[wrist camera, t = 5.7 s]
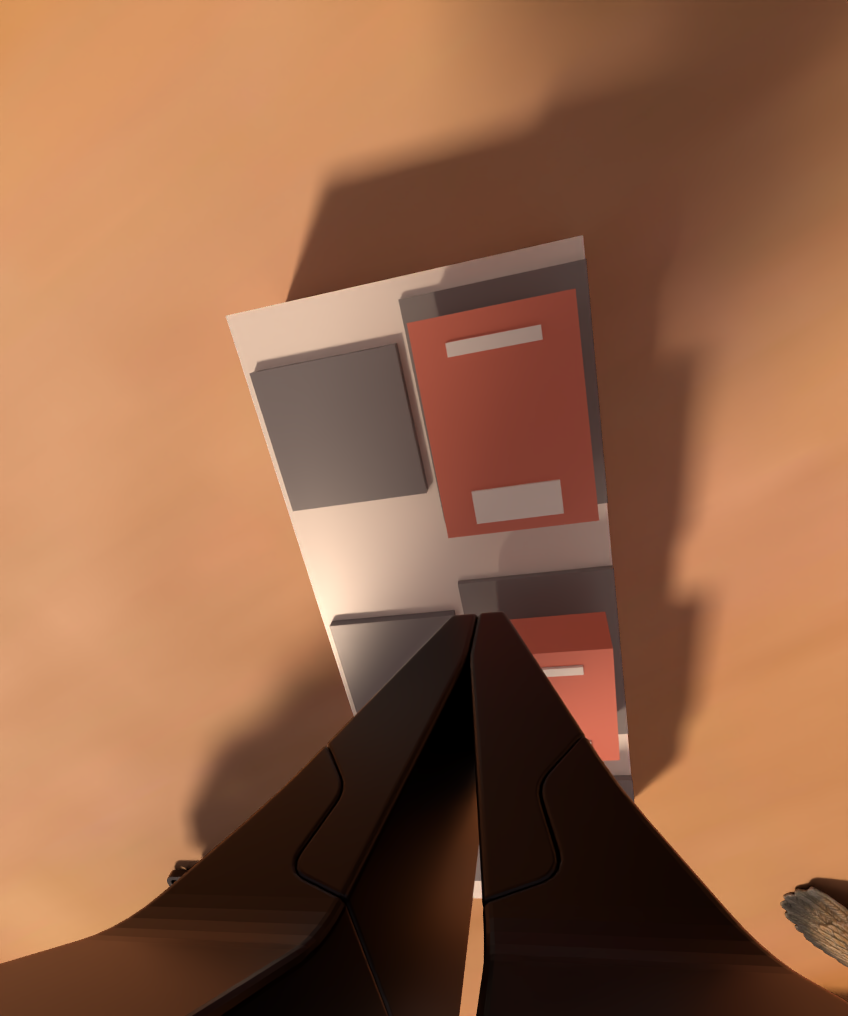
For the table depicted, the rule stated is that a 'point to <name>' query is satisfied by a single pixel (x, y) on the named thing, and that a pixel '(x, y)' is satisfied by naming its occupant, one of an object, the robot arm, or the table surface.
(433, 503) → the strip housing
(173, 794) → the table surface
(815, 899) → the eagle figurine
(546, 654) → the rocker
